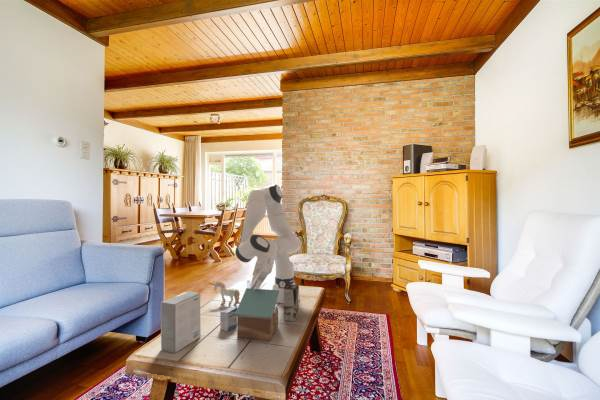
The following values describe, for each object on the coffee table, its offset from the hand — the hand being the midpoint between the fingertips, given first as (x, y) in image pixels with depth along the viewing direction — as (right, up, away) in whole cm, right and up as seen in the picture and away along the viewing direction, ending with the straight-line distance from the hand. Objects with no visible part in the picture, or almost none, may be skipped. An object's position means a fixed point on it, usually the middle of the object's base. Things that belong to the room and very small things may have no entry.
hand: (256, 290), depth 137 cm
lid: (+1, -6, -2) cm, 6 cm away
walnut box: (+1, -19, -2) cm, 19 cm away
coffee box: (+16, -20, +17) cm, 30 cm away
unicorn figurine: (-24, -19, +32) cm, 45 cm away
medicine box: (-14, -19, +4) cm, 24 cm away
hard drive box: (-30, -19, -12) cm, 38 cm away
